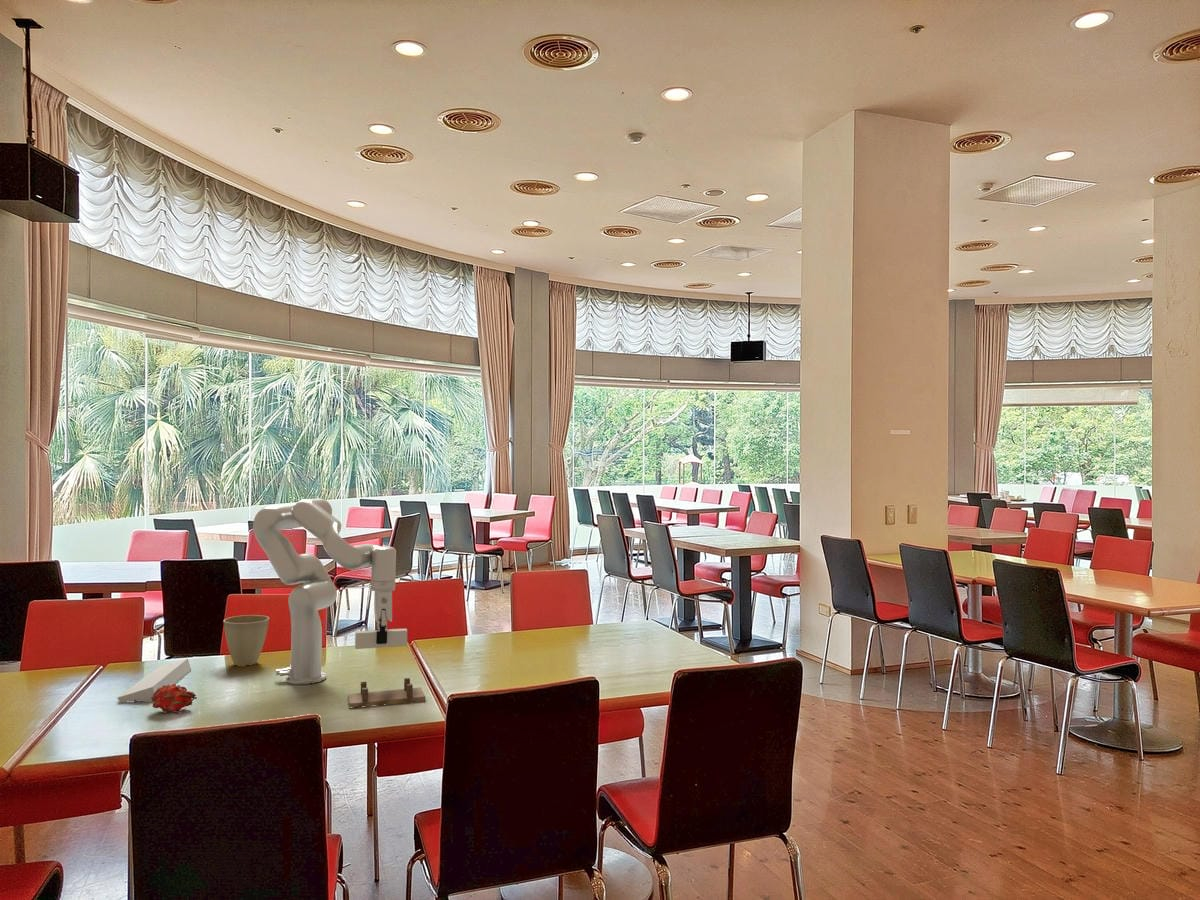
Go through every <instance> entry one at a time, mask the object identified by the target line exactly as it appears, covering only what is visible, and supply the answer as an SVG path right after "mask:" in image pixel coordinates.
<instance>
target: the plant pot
mask: <svg viewBox="0 0 1200 900" xmlns="http://www.w3.org/2000/svg"><path fill="white" fill-rule="evenodd" d="M269 623H270V617H269V616H267V615H260V614H259V615H258V614H250V615H249V614H248V615H236V616H231V617H226V618H225V619H223V628H224V635H225V639H226V644H227V647H228V650H229V654H230V657H231V660H232V663H233V665H234V666H235V665H240V666H239V667H246V666H245V665H250V666H254V665H256V664H257V663H258V660H259V658H260V656H261V653H262V651H263V647H264V643H265V642H266V641H265V640H266V637H267V633H268V627H269ZM255 663H256V664H255ZM253 664H254V665H253ZM242 665H244V666H242Z"/></svg>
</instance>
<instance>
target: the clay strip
mask: <svg viewBox="0 0 1200 900" xmlns="http://www.w3.org/2000/svg"><path fill="white" fill-rule="evenodd" d="M377 631H378V630H376V629H373V630H372V629H371V630H356V631H354V649H355V650H361V649H362V650H363V649H380V648H396V647H407V646H408V629H407V628H392V629H387V643H386V644H377V643H376V640H377Z"/></svg>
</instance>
